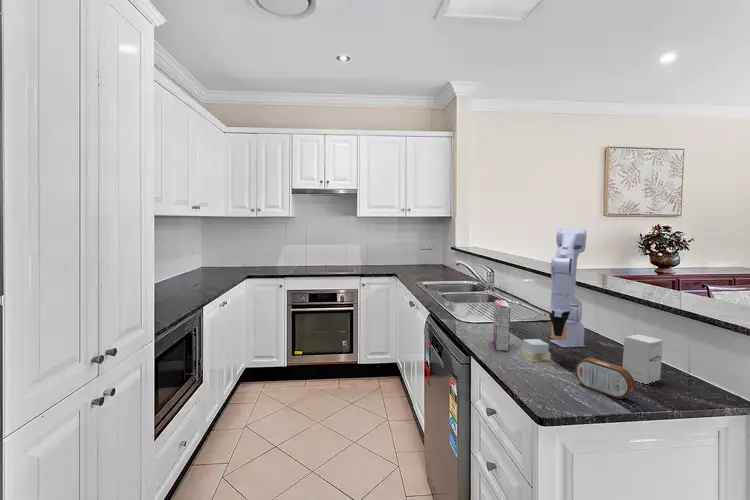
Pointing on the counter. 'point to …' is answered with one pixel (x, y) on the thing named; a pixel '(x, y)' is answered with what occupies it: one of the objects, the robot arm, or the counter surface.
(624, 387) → the tin
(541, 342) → the grey-blue top block
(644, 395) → the counter surface
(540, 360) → the birch base block
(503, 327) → the candy bar box
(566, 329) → the light brown cylinder
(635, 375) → the supplement box
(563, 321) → the robot arm
